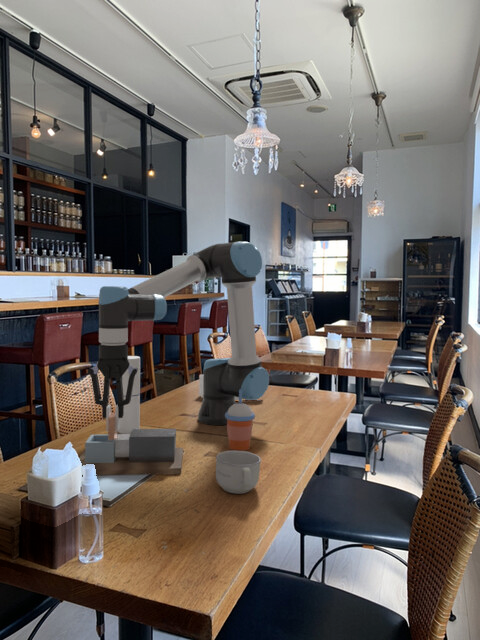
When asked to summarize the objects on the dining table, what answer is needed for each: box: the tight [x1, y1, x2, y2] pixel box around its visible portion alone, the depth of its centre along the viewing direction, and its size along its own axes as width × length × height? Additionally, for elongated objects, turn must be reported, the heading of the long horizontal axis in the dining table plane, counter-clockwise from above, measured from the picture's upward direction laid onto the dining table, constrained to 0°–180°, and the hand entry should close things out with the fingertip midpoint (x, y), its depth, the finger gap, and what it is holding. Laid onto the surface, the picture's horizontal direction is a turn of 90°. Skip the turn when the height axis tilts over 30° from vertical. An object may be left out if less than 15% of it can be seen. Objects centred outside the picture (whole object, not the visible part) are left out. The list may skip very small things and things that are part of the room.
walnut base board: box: [78, 447, 184, 476], centre depth 126 cm, size 28×16×2 cm, turn 95°
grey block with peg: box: [107, 412, 130, 457], centre depth 126 cm, size 13×5×11 cm, turn 95°
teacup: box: [215, 450, 262, 495], centre depth 109 cm, size 14×11×8 cm
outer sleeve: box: [129, 428, 177, 463], centre depth 126 cm, size 12×7×7 cm, turn 95°
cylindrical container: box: [118, 355, 141, 434], centre depth 155 cm, size 7×7×25 cm
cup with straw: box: [225, 389, 256, 451], centre depth 140 cm, size 9×9×18 cm
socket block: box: [84, 433, 116, 463], centre depth 125 cm, size 7×7×6 cm
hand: (113, 429), depth 125 cm, fingers closed on grey block with peg, 2 cm apart
